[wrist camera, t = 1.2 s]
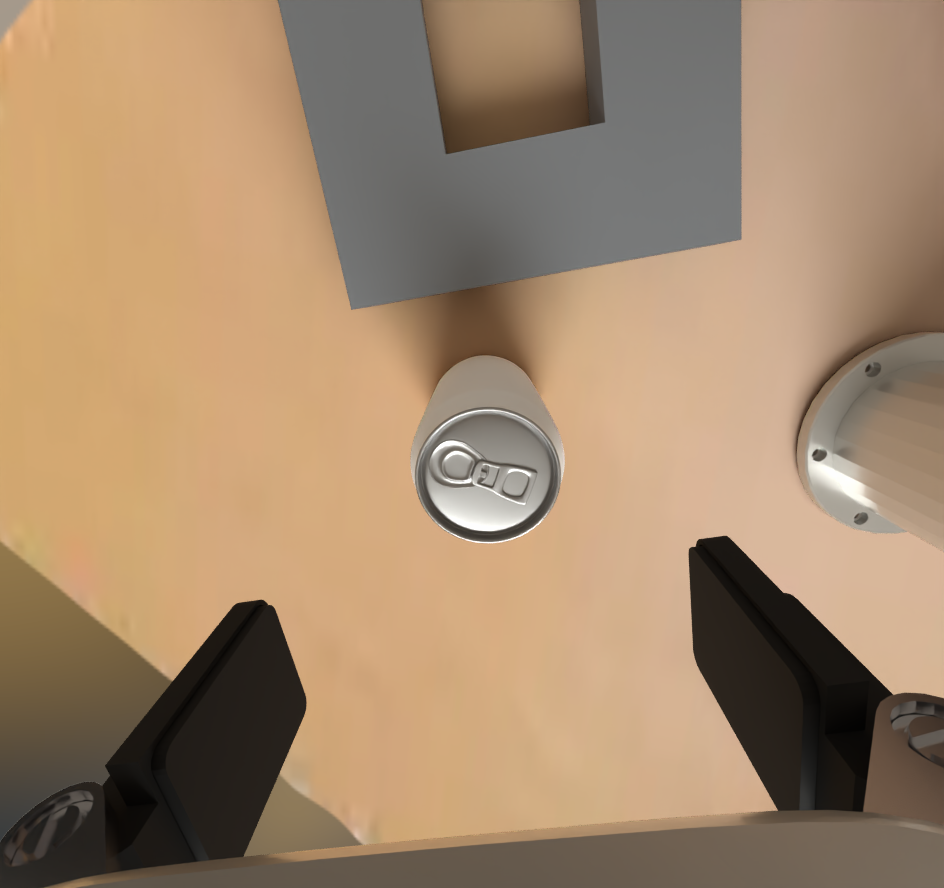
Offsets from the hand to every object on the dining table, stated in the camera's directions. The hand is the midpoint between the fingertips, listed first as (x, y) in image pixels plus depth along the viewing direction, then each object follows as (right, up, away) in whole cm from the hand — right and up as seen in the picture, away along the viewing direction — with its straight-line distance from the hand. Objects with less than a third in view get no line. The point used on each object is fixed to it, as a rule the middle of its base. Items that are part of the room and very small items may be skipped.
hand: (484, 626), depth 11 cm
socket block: (+2, +23, +14) cm, 27 cm away
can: (+1, +6, +19) cm, 20 cm away
